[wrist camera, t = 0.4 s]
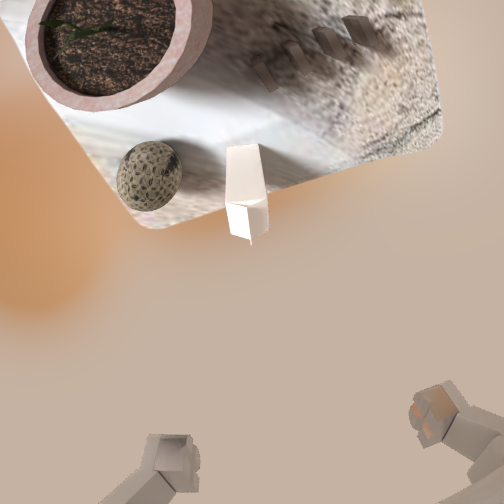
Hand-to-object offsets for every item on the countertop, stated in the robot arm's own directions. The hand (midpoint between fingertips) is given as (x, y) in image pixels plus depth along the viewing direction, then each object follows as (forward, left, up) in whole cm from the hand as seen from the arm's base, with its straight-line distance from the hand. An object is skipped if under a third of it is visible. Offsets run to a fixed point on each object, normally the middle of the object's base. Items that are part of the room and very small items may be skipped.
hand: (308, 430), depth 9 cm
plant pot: (-19, -8, -52) cm, 56 cm away
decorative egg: (+4, -23, -52) cm, 57 cm away
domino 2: (0, +9, -52) cm, 53 cm away
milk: (+14, -9, -52) cm, 55 cm away
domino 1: (0, +3, -52) cm, 52 cm away
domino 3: (0, +15, -52) cm, 54 cm away
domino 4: (0, +21, -52) cm, 56 cm away
